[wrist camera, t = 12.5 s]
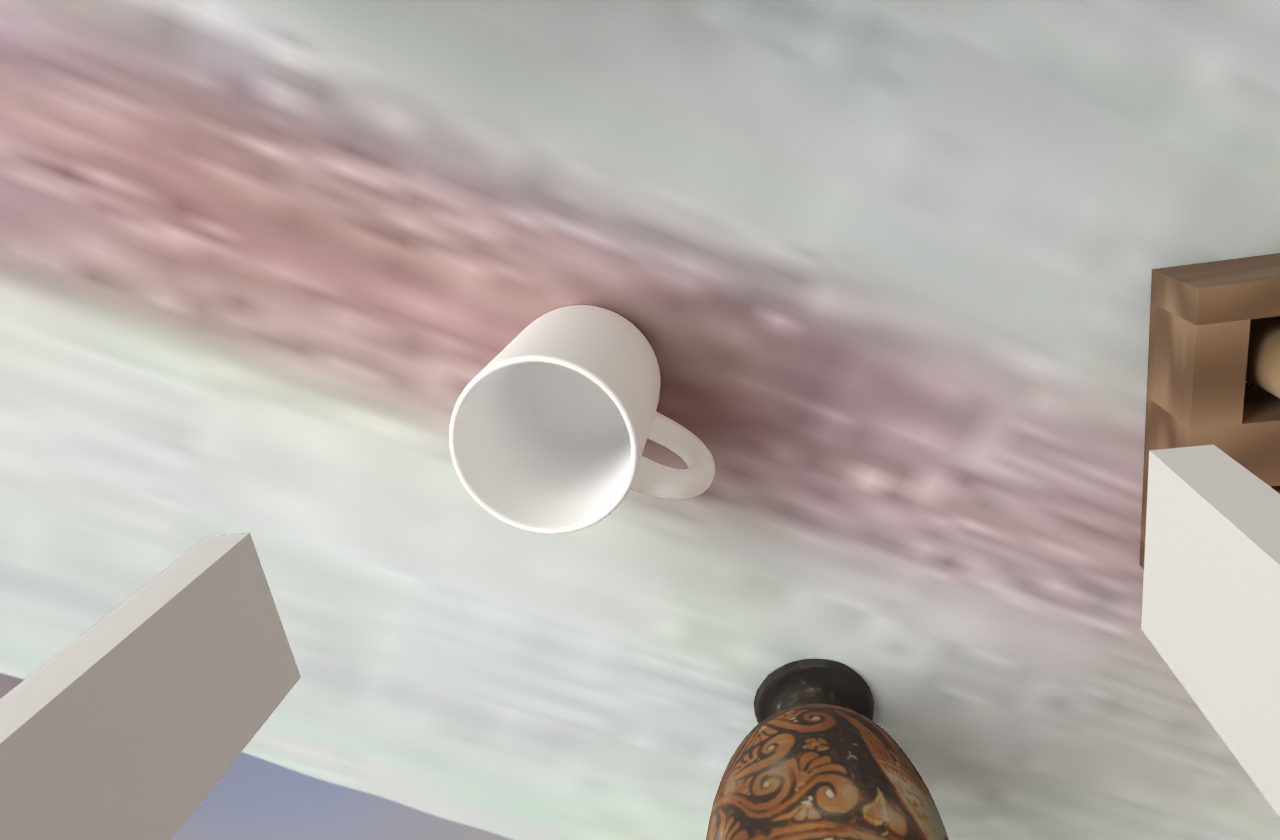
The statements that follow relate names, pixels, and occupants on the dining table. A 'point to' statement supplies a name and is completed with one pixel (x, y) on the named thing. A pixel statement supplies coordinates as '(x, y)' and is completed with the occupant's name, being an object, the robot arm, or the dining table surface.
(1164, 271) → the hole block
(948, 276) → the dining table surface
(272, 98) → the dining table surface
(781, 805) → the vase
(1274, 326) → the oak peg
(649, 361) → the mug
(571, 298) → the dining table surface
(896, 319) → the dining table surface
